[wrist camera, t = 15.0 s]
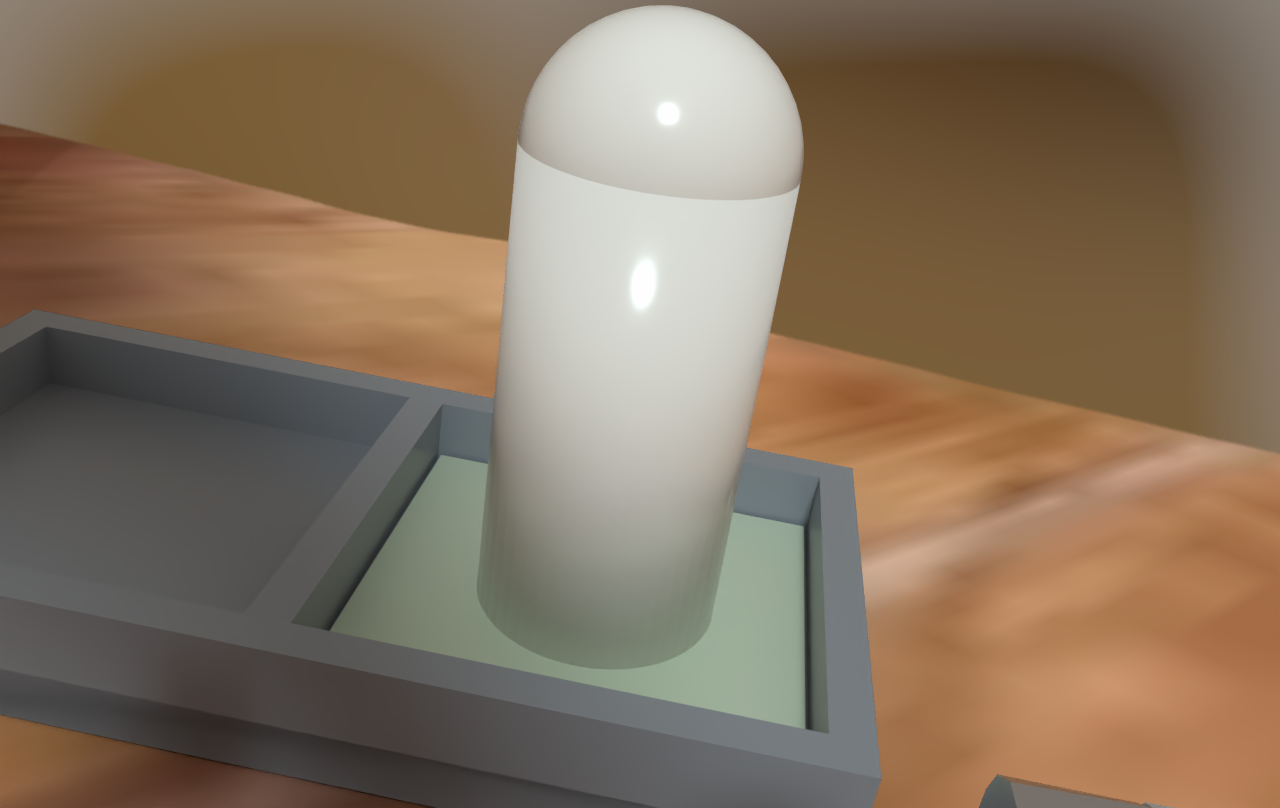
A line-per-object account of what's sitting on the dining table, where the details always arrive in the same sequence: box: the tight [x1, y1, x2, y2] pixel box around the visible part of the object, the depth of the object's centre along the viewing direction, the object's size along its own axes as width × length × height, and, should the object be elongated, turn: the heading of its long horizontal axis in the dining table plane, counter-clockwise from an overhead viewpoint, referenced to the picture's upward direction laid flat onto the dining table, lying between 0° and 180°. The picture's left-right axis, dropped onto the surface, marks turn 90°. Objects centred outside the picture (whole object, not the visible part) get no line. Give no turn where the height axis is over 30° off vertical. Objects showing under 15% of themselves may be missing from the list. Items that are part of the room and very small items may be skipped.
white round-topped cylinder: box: [477, 6, 803, 669], centre depth 21 cm, size 5×5×11 cm
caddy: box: [0, 309, 881, 808], centre depth 24 cm, size 20×11×2 cm, turn 83°
